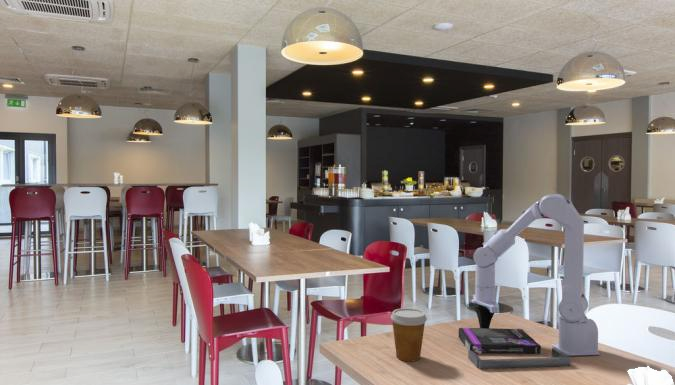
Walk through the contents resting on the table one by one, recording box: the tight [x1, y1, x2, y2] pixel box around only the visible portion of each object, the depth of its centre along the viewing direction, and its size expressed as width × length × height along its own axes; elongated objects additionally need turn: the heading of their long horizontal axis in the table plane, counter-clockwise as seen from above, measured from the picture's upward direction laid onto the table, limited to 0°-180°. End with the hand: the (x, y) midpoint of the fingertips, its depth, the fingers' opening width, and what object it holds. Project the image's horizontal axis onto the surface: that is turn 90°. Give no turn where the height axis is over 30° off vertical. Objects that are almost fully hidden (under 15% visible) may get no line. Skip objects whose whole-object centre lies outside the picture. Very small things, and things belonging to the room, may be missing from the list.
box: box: [458, 327, 542, 355], centre depth 137 cm, size 14×4×20 cm
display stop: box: [467, 347, 572, 370], centre depth 125 cm, size 24×8×2 cm, turn 95°
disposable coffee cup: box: [390, 307, 428, 362], centre depth 128 cm, size 10×10×12 cm
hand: (484, 329), depth 147 cm, fingers closed
